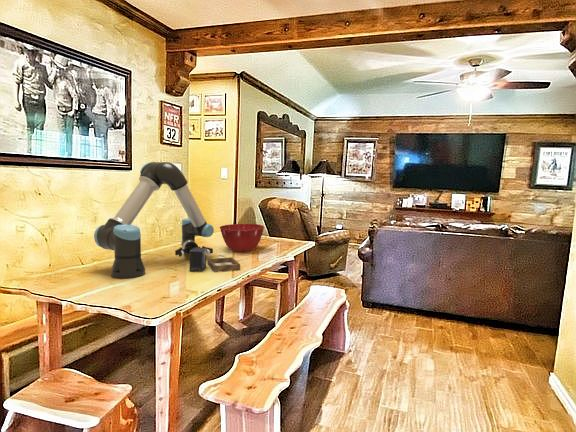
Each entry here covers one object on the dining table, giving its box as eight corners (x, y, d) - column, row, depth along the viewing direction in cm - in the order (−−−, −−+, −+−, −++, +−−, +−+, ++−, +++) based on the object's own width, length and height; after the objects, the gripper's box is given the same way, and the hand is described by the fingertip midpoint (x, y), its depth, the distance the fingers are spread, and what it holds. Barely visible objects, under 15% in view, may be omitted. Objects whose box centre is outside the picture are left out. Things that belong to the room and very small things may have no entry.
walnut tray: (213, 272, 189) (213, 266, 189) (207, 264, 205) (207, 258, 205) (240, 270, 194) (240, 264, 194) (232, 262, 210) (232, 257, 210)
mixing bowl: (242, 256, 226) (242, 231, 224) (210, 250, 243) (210, 226, 241) (273, 249, 248) (273, 226, 246) (241, 244, 265) (241, 222, 264)
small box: (202, 271, 190) (201, 251, 189) (189, 271, 190) (188, 251, 189) (207, 266, 200) (206, 247, 199) (194, 266, 200) (194, 246, 199)
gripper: (212, 252, 226) (219, 259, 207) (168, 255, 217) (172, 263, 197) (212, 239, 226) (219, 246, 206) (168, 242, 216) (171, 249, 197)
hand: (196, 254), depth 202 cm, fingers open, 13 cm apart
